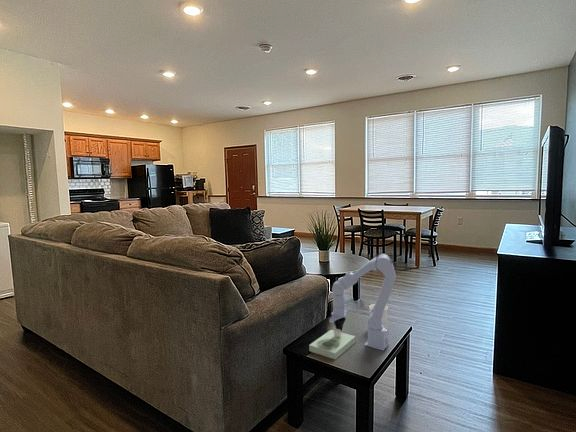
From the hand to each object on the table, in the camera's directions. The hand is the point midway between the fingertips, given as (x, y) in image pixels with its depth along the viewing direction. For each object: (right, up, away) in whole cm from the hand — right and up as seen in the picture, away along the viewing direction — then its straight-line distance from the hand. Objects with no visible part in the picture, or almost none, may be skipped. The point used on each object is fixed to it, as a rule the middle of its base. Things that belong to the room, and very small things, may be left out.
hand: (339, 331), depth 169 cm
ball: (-1, 0, -1) cm, 2 cm away
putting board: (-4, -5, -5) cm, 8 cm away
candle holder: (+23, -3, +13) cm, 27 cm away
